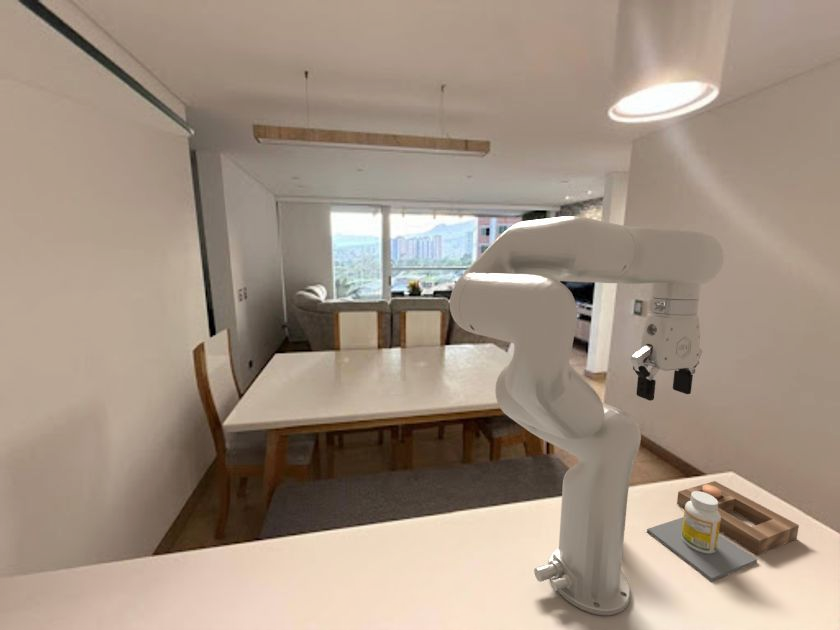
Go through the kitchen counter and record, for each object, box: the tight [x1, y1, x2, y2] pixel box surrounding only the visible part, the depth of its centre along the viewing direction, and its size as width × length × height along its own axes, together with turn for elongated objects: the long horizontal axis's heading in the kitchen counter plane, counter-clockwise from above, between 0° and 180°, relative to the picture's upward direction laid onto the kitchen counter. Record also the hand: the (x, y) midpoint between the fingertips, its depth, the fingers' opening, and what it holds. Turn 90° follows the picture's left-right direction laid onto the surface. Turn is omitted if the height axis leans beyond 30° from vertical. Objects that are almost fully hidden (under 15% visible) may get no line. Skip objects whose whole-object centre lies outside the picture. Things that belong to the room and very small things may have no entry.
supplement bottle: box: [682, 491, 721, 554], centre depth 68 cm, size 5×5×10 cm
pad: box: [646, 516, 758, 582], centre depth 68 cm, size 12×12×1 cm
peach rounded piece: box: [702, 484, 721, 500], centre depth 79 cm, size 3×3×4 cm
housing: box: [676, 480, 800, 556], centre depth 75 cm, size 12×15×3 cm
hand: (663, 394), depth 70 cm, fingers open, 9 cm apart
